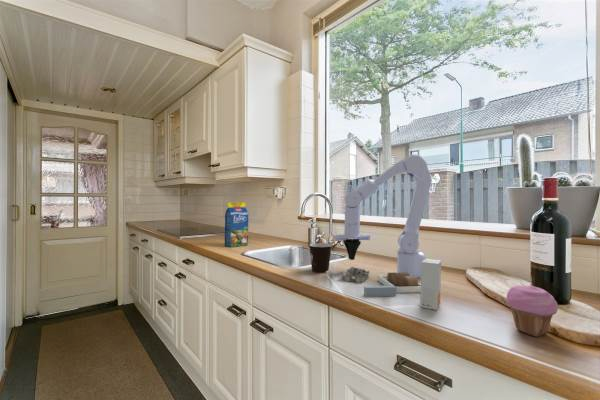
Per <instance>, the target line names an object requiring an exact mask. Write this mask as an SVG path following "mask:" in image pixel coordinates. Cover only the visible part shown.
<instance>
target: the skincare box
mask: <svg viewBox="0 0 600 400" xmlns="http://www.w3.org/2000/svg"><path fill="white" fill-rule="evenodd" d="M441 274H442V260H441V259H432V258H426V259H425V260H423V261H422V262H421V278H420V284H421V292H419V293H420V295H419V298H420V299H419V302H420V304H419V305H420V306H419V307H420V308H422V309H423V308H424V309H428V310H429V309H430V310H434V311H438V308H439V306H440V304H441V287H442V286H441V283H442V282H441V281H442V280H441V278H442V275H441Z"/></svg>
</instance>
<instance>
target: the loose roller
mask: <svg viewBox="0 0 600 400" xmlns="http://www.w3.org/2000/svg"><path fill="white" fill-rule="evenodd" d="M418 283H419V280H418V278H416V276H395V277H394V286H395V287H404V286H418Z"/></svg>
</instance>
